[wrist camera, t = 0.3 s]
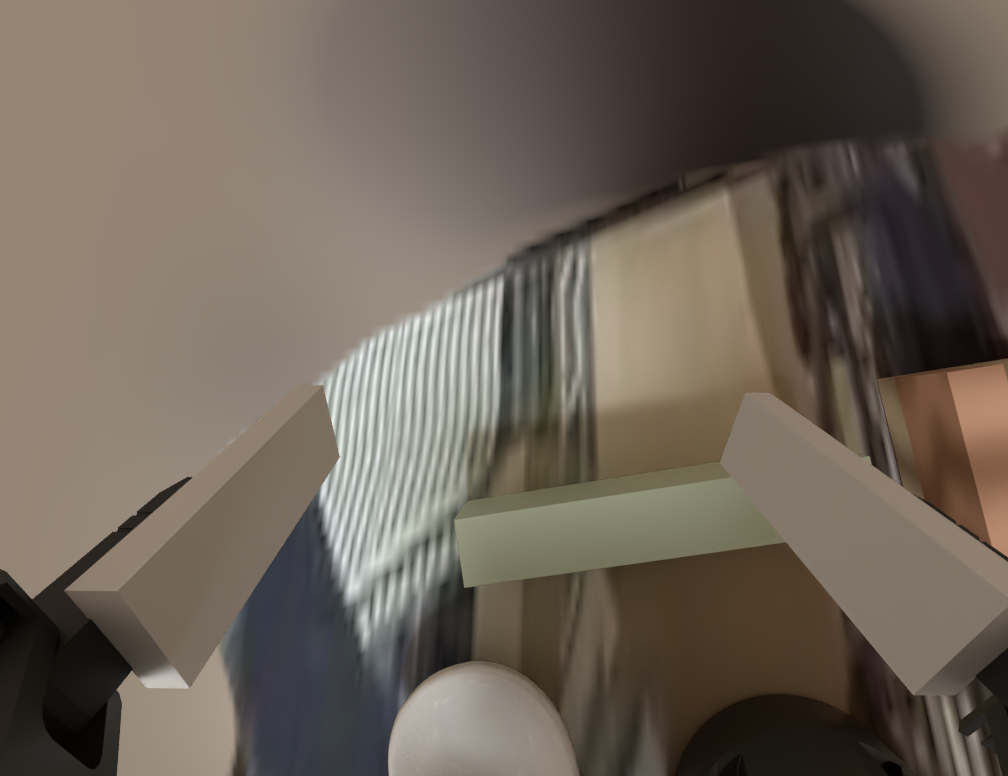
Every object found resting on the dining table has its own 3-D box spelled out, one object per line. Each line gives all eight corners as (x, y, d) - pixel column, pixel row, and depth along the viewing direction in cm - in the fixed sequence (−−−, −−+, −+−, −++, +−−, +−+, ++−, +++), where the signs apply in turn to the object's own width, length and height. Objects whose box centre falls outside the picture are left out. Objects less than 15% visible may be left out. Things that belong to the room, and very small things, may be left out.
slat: (816, 504, 25) (887, 528, 20) (476, 554, 26) (464, 587, 21) (802, 447, 25) (869, 456, 20) (468, 499, 27) (453, 519, 22)
